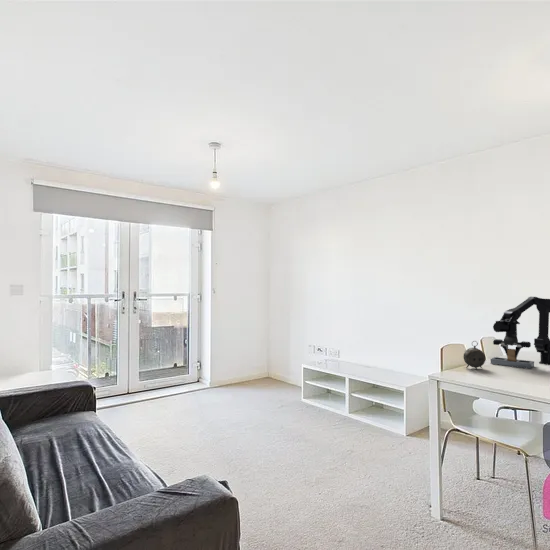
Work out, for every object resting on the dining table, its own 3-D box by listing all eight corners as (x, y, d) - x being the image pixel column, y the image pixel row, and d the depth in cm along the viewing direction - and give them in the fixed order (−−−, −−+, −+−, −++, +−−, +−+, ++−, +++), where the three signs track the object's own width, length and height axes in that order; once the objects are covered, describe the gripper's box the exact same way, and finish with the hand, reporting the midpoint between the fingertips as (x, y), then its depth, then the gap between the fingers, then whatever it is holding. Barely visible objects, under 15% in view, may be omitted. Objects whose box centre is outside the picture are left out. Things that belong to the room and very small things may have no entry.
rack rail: (490, 363, 238) (490, 359, 238) (494, 361, 245) (494, 356, 245) (530, 368, 224) (530, 363, 224) (534, 366, 230) (534, 361, 230)
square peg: (509, 361, 237) (508, 348, 237) (516, 362, 234) (516, 349, 234) (507, 362, 234) (507, 349, 234) (515, 363, 231) (514, 350, 231)
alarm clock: (482, 368, 226) (482, 340, 227) (487, 370, 221) (486, 341, 221) (463, 367, 228) (462, 340, 228) (467, 369, 222) (466, 341, 223)
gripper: (490, 331, 235) (490, 357, 235) (526, 334, 222) (527, 361, 222) (495, 330, 243) (496, 355, 243) (530, 332, 230) (531, 358, 230)
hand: (511, 357), depth 234 cm, fingers closed on square peg, 4 cm apart
